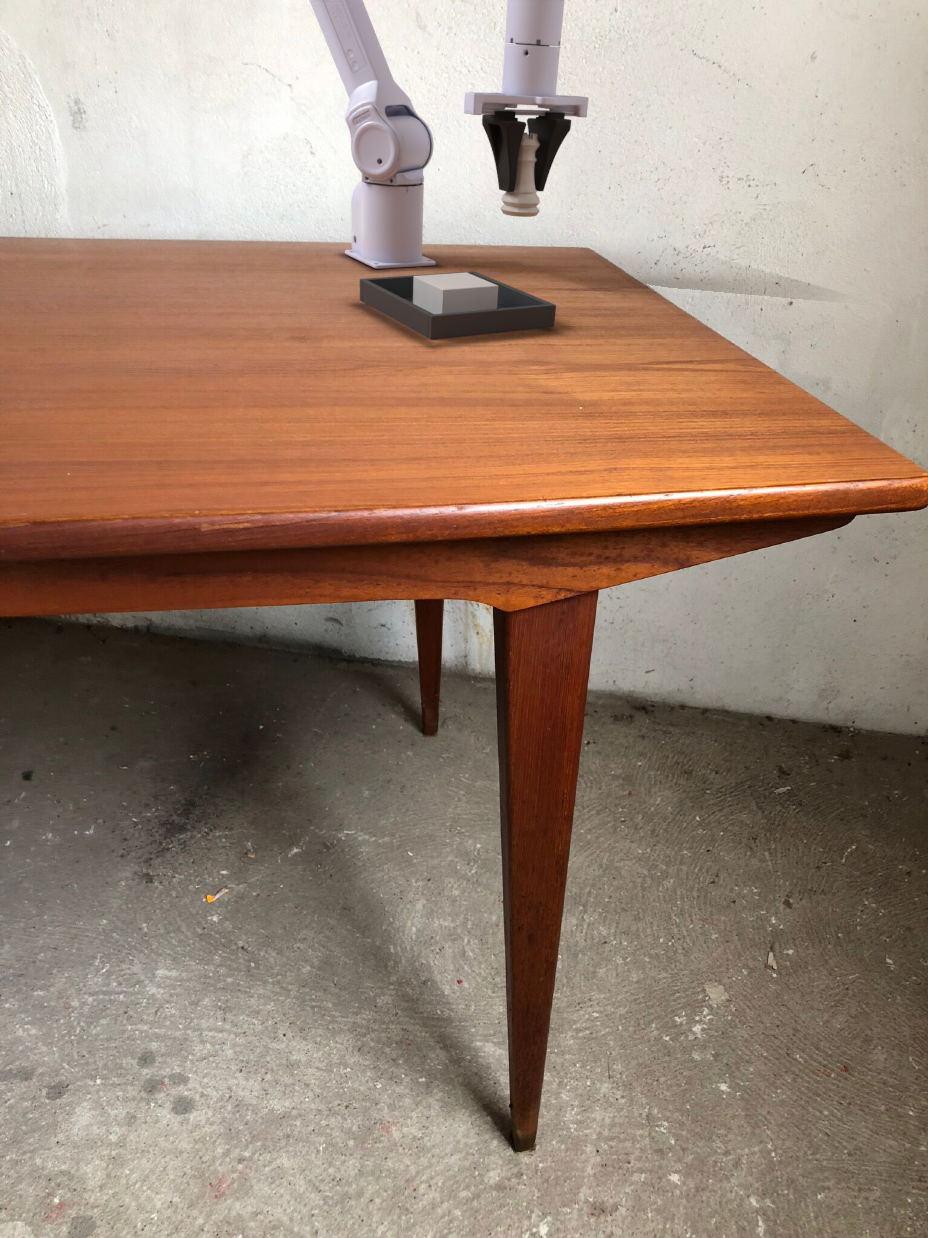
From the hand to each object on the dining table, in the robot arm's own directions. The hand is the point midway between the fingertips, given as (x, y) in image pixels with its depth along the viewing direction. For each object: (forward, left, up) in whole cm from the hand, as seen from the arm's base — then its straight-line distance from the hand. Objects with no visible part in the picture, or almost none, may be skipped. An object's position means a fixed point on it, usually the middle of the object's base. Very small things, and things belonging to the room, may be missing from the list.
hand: (521, 190), depth 100 cm
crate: (+14, -16, -9) cm, 23 cm away
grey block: (+14, -16, -9) cm, 23 cm away
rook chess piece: (0, 0, -3) cm, 3 cm away
